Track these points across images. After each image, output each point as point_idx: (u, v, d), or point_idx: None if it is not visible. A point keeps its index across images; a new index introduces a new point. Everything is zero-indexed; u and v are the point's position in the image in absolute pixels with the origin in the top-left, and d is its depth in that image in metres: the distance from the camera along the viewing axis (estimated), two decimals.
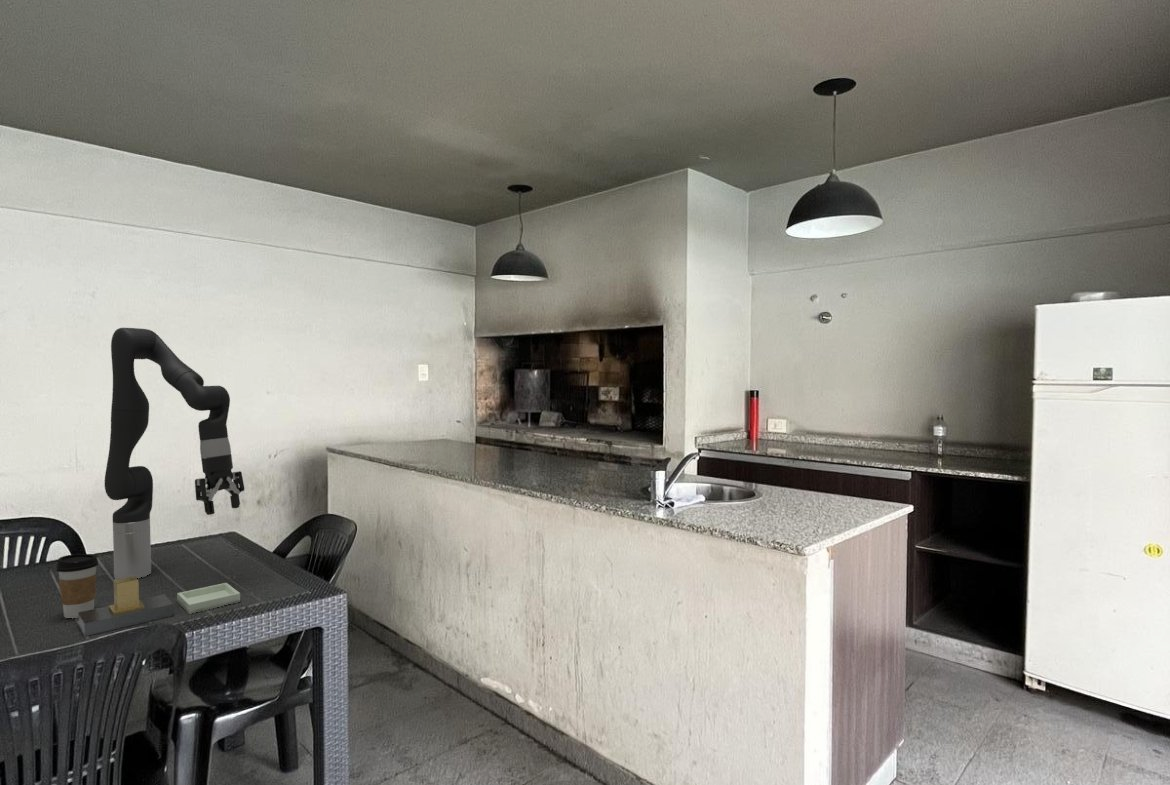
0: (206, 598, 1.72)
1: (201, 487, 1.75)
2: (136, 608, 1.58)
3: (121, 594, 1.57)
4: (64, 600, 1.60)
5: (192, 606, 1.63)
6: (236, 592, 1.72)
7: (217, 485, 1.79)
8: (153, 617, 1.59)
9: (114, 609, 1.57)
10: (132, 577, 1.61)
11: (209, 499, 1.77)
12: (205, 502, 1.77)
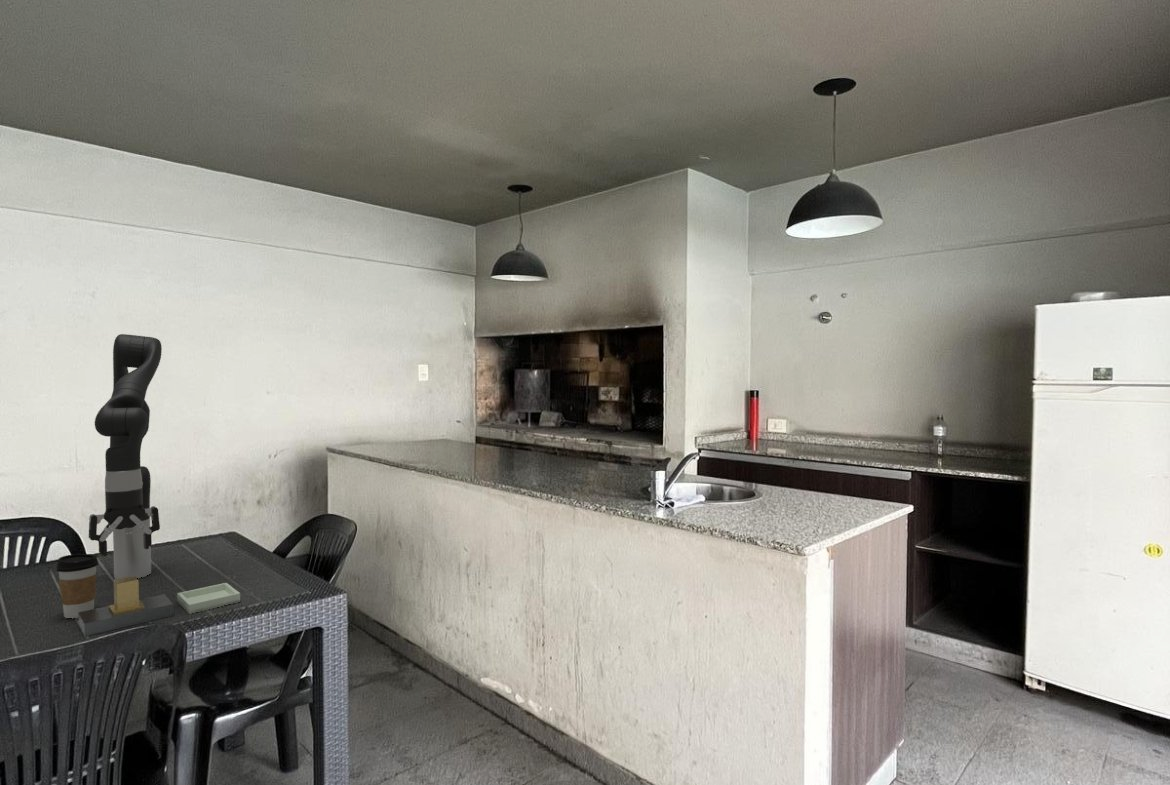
0: (206, 598, 1.72)
1: (90, 526, 1.53)
2: (136, 608, 1.58)
3: (121, 594, 1.57)
4: (64, 600, 1.60)
5: (192, 606, 1.63)
6: (236, 592, 1.72)
7: (114, 524, 1.56)
8: (153, 617, 1.59)
9: (114, 609, 1.57)
10: (132, 577, 1.61)
11: (100, 539, 1.54)
12: None
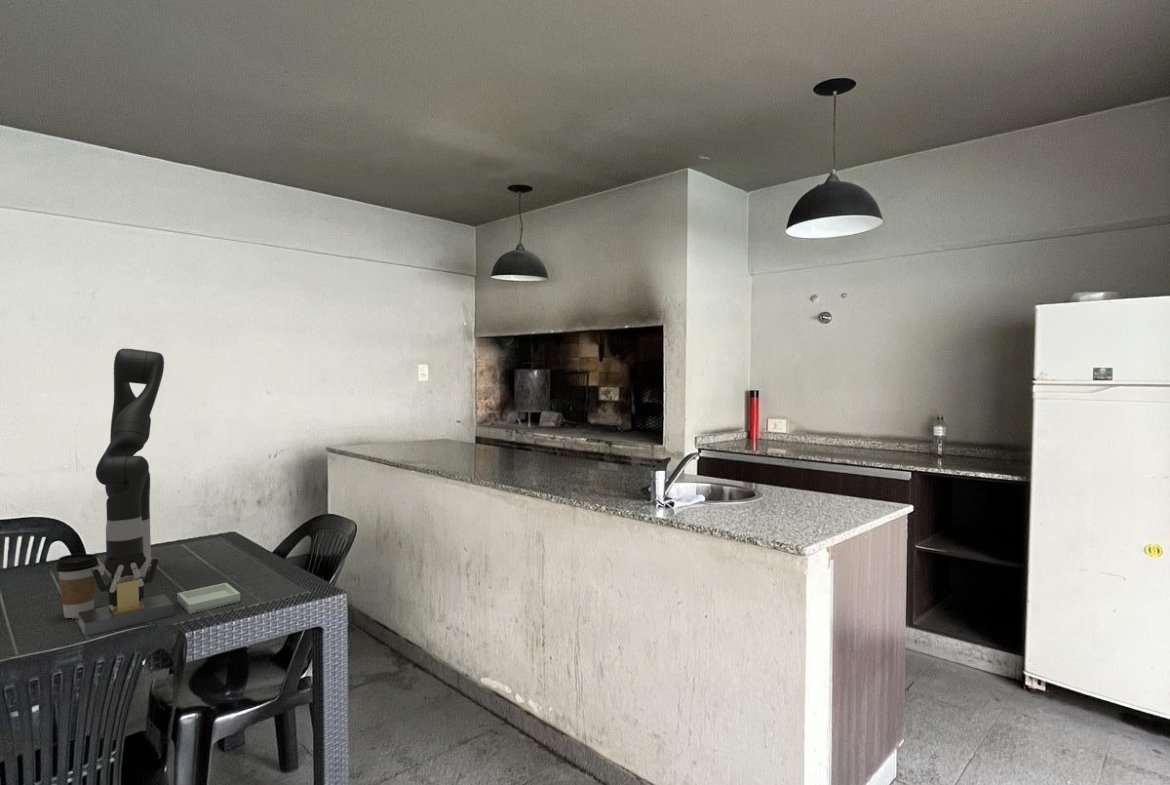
0: (206, 598, 1.72)
1: (95, 579, 1.54)
2: (136, 608, 1.58)
3: (121, 594, 1.57)
4: (64, 600, 1.60)
5: (192, 606, 1.63)
6: (236, 592, 1.72)
7: (117, 573, 1.56)
8: (153, 617, 1.59)
9: (114, 609, 1.57)
10: (132, 577, 1.61)
11: (110, 590, 1.56)
12: (108, 592, 1.57)
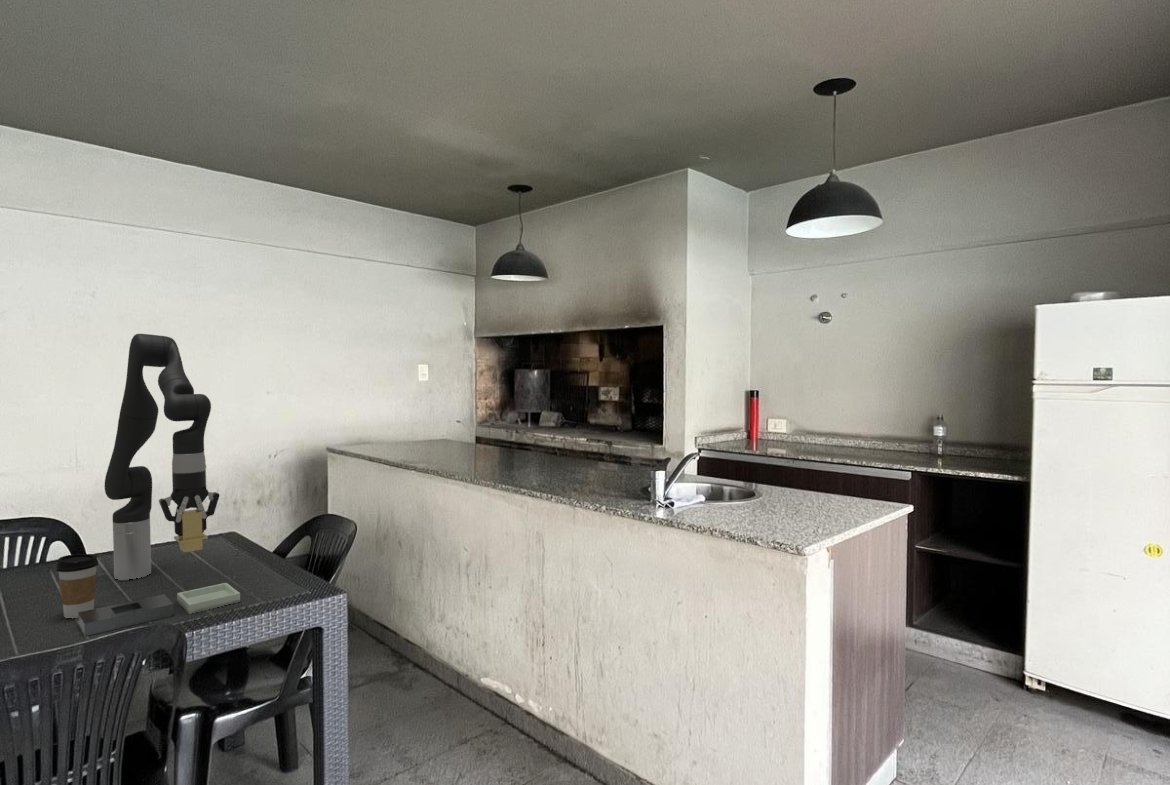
0: (206, 598, 1.72)
1: (163, 509, 1.63)
2: (200, 538, 1.67)
3: (186, 524, 1.65)
4: (64, 600, 1.60)
5: (192, 606, 1.63)
6: (236, 592, 1.72)
7: (183, 505, 1.65)
8: (153, 617, 1.59)
9: (180, 538, 1.65)
10: (195, 510, 1.69)
11: (177, 520, 1.65)
12: (174, 522, 1.66)
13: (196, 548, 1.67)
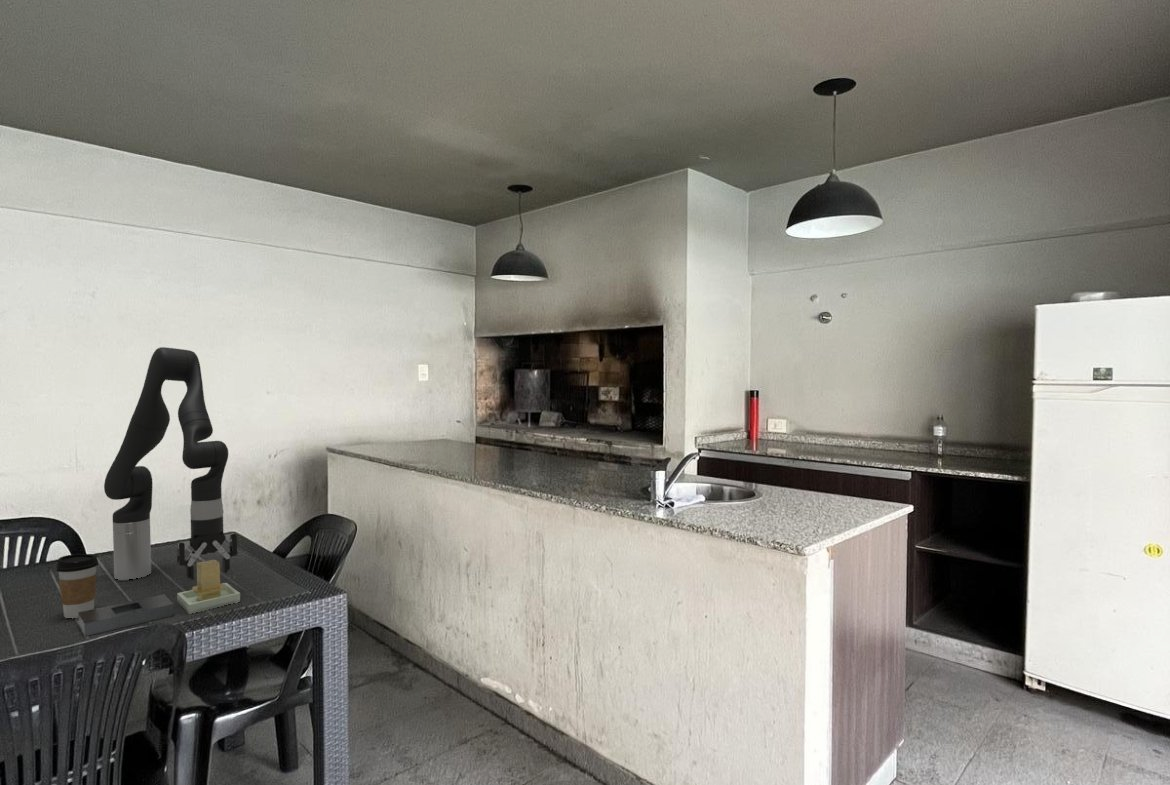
0: None
1: (179, 552, 1.65)
2: (218, 589, 1.70)
3: (204, 576, 1.69)
4: (64, 600, 1.60)
5: (192, 606, 1.63)
6: (236, 592, 1.72)
7: (199, 550, 1.68)
8: (153, 617, 1.59)
9: (198, 590, 1.69)
10: (213, 560, 1.73)
11: (188, 565, 1.67)
12: (186, 566, 1.68)
13: None
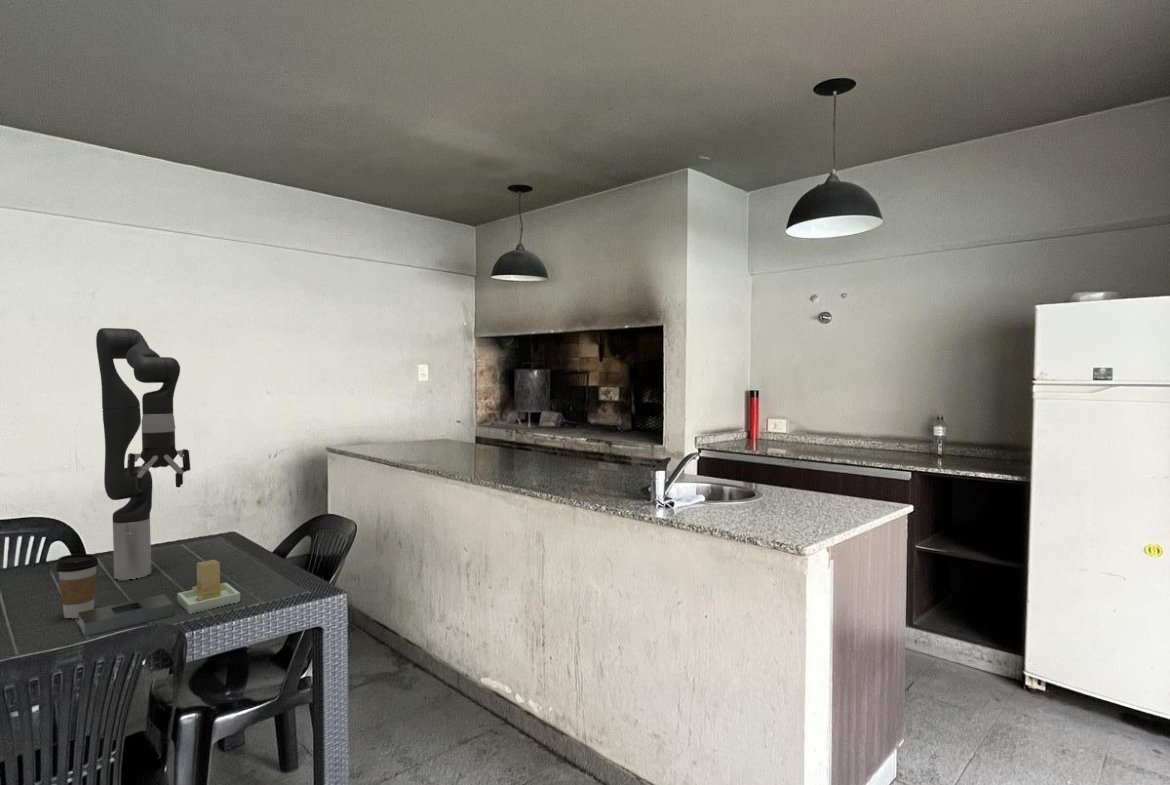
0: None
1: (129, 463, 1.68)
2: (218, 589, 1.70)
3: (204, 576, 1.69)
4: (64, 600, 1.60)
5: (192, 606, 1.63)
6: (236, 592, 1.72)
7: (150, 462, 1.71)
8: (153, 617, 1.59)
9: (198, 590, 1.69)
10: (213, 560, 1.73)
11: (138, 476, 1.69)
12: (136, 478, 1.70)
13: None
